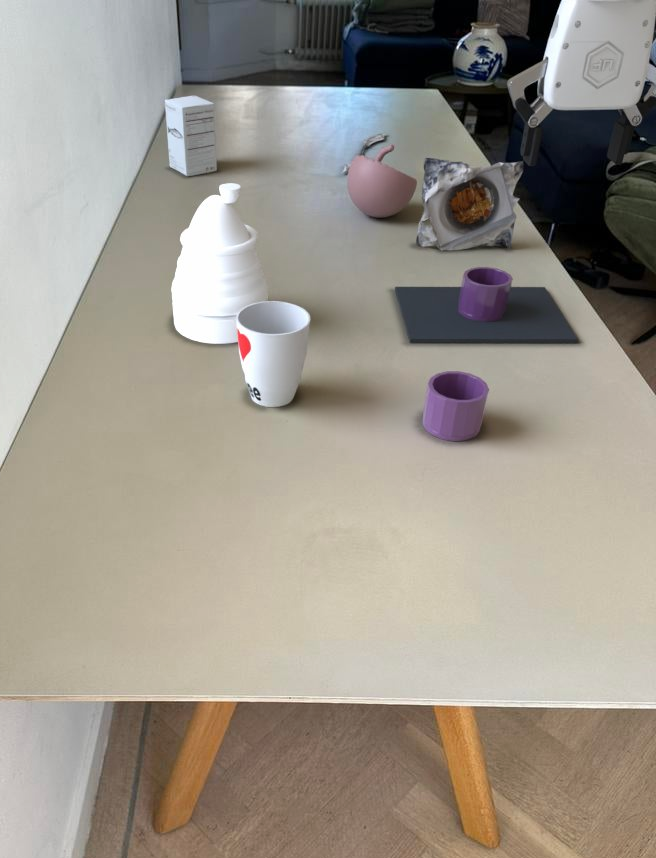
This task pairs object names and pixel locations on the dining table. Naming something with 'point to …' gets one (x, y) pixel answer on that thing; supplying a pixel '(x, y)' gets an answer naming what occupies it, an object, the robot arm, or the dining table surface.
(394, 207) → the mortar and pestle
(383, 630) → the dining table surface
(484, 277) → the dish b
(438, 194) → the meal
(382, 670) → the dining table surface
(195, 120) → the white packaging box
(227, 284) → the honey pot
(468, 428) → the purple faceted cup
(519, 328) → the mat
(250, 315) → the cup
